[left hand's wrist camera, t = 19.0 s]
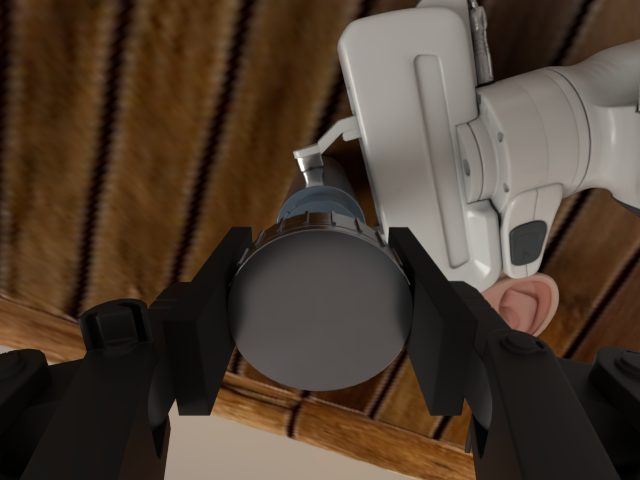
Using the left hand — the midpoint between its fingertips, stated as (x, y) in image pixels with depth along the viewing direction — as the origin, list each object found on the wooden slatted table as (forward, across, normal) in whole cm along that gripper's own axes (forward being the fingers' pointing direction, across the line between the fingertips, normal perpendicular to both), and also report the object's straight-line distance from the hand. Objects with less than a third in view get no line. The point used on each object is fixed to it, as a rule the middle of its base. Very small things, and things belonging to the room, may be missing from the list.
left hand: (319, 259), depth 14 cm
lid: (-4, 0, 0) cm, 4 cm away
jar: (+19, 0, 0) cm, 19 cm away
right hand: (+12, -1, -1) cm, 12 cm away
